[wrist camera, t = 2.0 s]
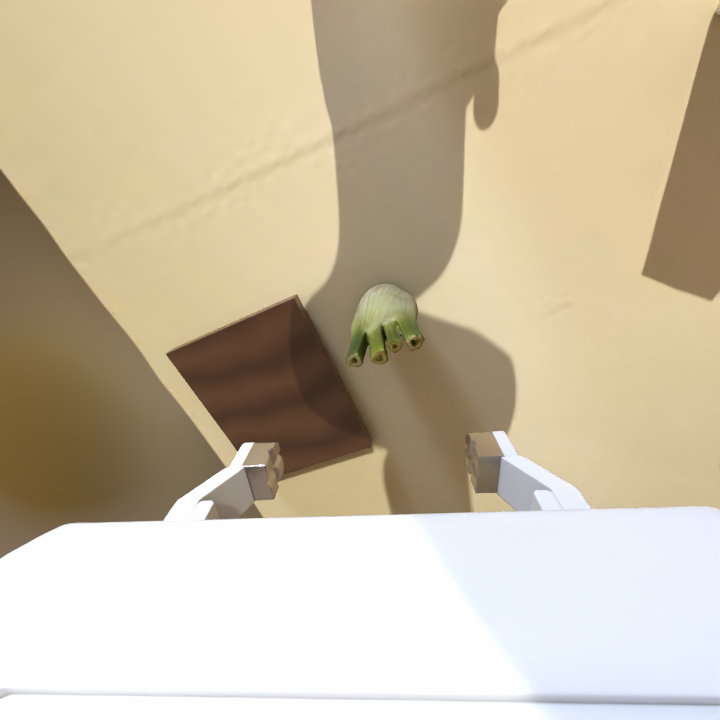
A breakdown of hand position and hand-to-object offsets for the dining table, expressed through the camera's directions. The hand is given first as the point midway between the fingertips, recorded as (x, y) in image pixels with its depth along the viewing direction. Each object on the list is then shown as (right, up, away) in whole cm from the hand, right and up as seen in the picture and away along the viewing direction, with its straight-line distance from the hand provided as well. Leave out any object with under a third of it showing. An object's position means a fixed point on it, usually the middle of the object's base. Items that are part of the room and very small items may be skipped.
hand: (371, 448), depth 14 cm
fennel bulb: (+2, +10, +20) cm, 22 cm away
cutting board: (-10, 0, +25) cm, 27 cm away
